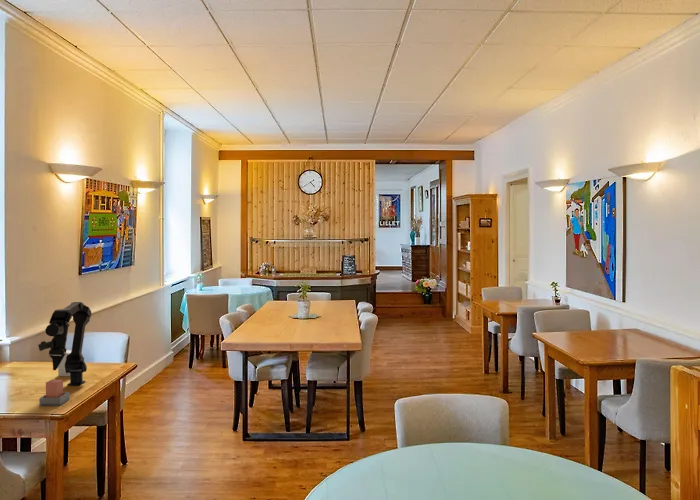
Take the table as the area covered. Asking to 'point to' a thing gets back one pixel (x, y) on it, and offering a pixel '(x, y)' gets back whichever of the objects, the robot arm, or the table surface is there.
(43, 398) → the open box
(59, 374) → the supplement box
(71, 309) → the robot arm
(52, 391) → the red block
